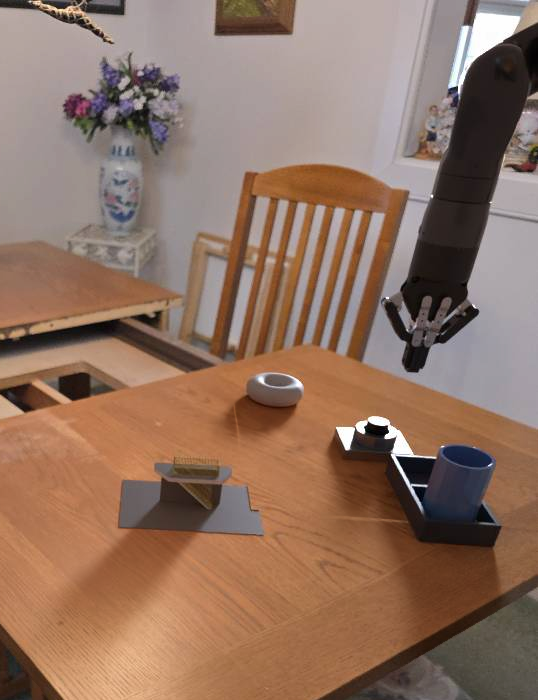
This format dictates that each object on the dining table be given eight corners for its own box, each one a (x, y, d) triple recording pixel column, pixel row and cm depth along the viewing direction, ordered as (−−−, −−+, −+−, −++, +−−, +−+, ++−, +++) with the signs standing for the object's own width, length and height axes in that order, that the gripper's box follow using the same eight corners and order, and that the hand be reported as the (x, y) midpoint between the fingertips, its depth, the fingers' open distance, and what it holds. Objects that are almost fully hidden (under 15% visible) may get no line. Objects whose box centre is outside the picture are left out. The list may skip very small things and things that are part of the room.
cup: (462, 507, 93) (484, 445, 88) (480, 534, 88) (504, 471, 83) (412, 503, 93) (431, 442, 88) (426, 530, 88) (448, 467, 83)
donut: (249, 384, 128) (240, 404, 120) (252, 366, 126) (243, 385, 118) (304, 393, 126) (299, 413, 118) (308, 374, 124) (302, 394, 116)
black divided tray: (448, 477, 102) (455, 457, 100) (493, 547, 87) (502, 526, 85) (384, 472, 102) (390, 453, 100) (418, 541, 87) (425, 520, 86)
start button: (384, 427, 107) (386, 417, 106) (389, 437, 105) (392, 426, 104) (363, 426, 107) (365, 415, 106) (367, 435, 105) (370, 424, 104)
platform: (264, 534, 87) (272, 488, 83) (118, 526, 87) (120, 480, 83) (253, 486, 97) (260, 443, 93) (122, 479, 97) (124, 436, 93)
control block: (397, 440, 111) (403, 420, 109) (410, 464, 104) (417, 443, 102) (333, 436, 111) (338, 416, 109) (343, 460, 105) (348, 439, 103)
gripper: (404, 240, 85) (369, 377, 95) (513, 248, 85) (467, 384, 95) (389, 229, 92) (357, 358, 101) (490, 236, 92) (449, 364, 101)
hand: (411, 370), depth 98 cm, fingers closed
